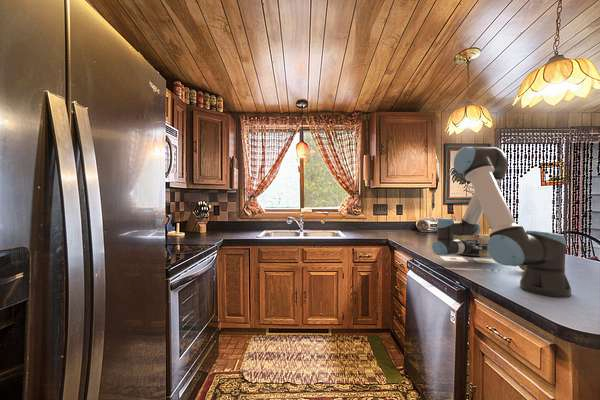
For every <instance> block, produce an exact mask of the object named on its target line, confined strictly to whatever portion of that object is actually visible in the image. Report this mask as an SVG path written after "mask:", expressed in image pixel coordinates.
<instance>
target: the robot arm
mask: <svg viewBox="0 0 600 400" xmlns="http://www.w3.org/2000/svg"><path fill="white" fill-rule="evenodd" d="M508 167H509V165H508V157H507V155H506V153H505V152H504V151H502V149H500V148H498V147H495V146H489V147H487V146H483V147H482V146H480V147H479V146H464V147H461V148H460V149H459V150H457V152H456V154H455V155H454V159H453V168H454V170H455V171H456V173H458V174H462V175H463V176H464V179H465V181H468V182H470V183H471V186H472V188H473V190H474V191H473V194H472V197H470V198H471V199H470V200H469V203H468V205H467V208H466V210H465V212H464V215H463V217H462V218H461V220H460V221H459V220H458V221H454V219H453V218H452V217H451V218H450V217H439V218H438V219H437V223H436V227H437V228H436V230H437V234H436V235H437V237H436V240H435V241H433V242H432V244H431V250H432V252H433V253H434V254H435V255H436V256H449V255H450V256H451V255H453V256H457V255H460V254H464V253H468V252H470V250H479V251H480V250H488V252H489V254H490V256H491V257H490V258H491V259H493V260H495V261H496V262H497V263H496V264H499V265H501V266H506V267H507V266H508V267H510V266H511V267H519V265H526V268H525V271H524V270H523V274H522V276H521V278H520V280H519V287H520V288H521V290H525V291H527V292H529V293H532V294H533V293H534V294H537V295H541V296H546V297H555V298H556V297H557V298H566V297H571V296H572V287H571V285H570V282H569V280H568V277H567V275H566V246H567V244H566V239H565V238H566V237H565V236H564V235H563V234H561V233H554V232H545V231H538V230H530V229H527V230H526V229H525V228H524V226H522V225H519V224H517V222H516V220H515V218H514V216H513V214H512V211H511V209H510V208H509V205H508V203H507V202H506V200H505V197H504V195H503V193H502V191H501V189H500V187H499V185H498V183H499V182H500V181H503V179H504V178H505V176H506V173H507V171H508ZM483 214H484V216H485V218H486V221H487V223H488V225H489V227H490V230H491V231H490V233H488V234H489V236H490V239H489V240H488V244H479V240H477V239H475V242H474V241H467V240H468V239H461V238H460V239H454V236H455V237H456V236H459V237H461V236H469V237H470V236H476V235H478V234H480V232H481V225H480V223H479V222H480V221H481V218H482V217H483ZM477 241H478V242H477Z"/></svg>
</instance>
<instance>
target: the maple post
mask: <svg viewBox="0 0 600 400" xmlns="http://www.w3.org/2000/svg"><path fill="white" fill-rule="evenodd" d="M478 234H479V235H478V236H479V239H478V241H479V244H488V240H489V239H490V236H489V234H490V233H487V234H486V233H478ZM478 257H481V258H487V259H491V258H492V257H491V256H490V254H489V252H488V250H480V251H479V256H478Z"/></svg>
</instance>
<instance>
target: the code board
mask: <svg viewBox="0 0 600 400" xmlns="http://www.w3.org/2000/svg"><path fill="white" fill-rule="evenodd" d="M439 257H440V259H442V260H443V261H444V262H463V263H465V262H466V263H469V261H468V260H467V259H465V257H462V256H447V255H439Z"/></svg>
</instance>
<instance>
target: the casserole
mask: <svg viewBox="0 0 600 400" xmlns="http://www.w3.org/2000/svg"><path fill="white" fill-rule="evenodd" d="M466 240H467V241H474V242H475V240H476V239H475V240H474V239H466ZM478 241H479V240H477V242H478ZM459 255H461V256H469V257H480V256H479V250H470V252H468V253H464V254H459Z"/></svg>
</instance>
